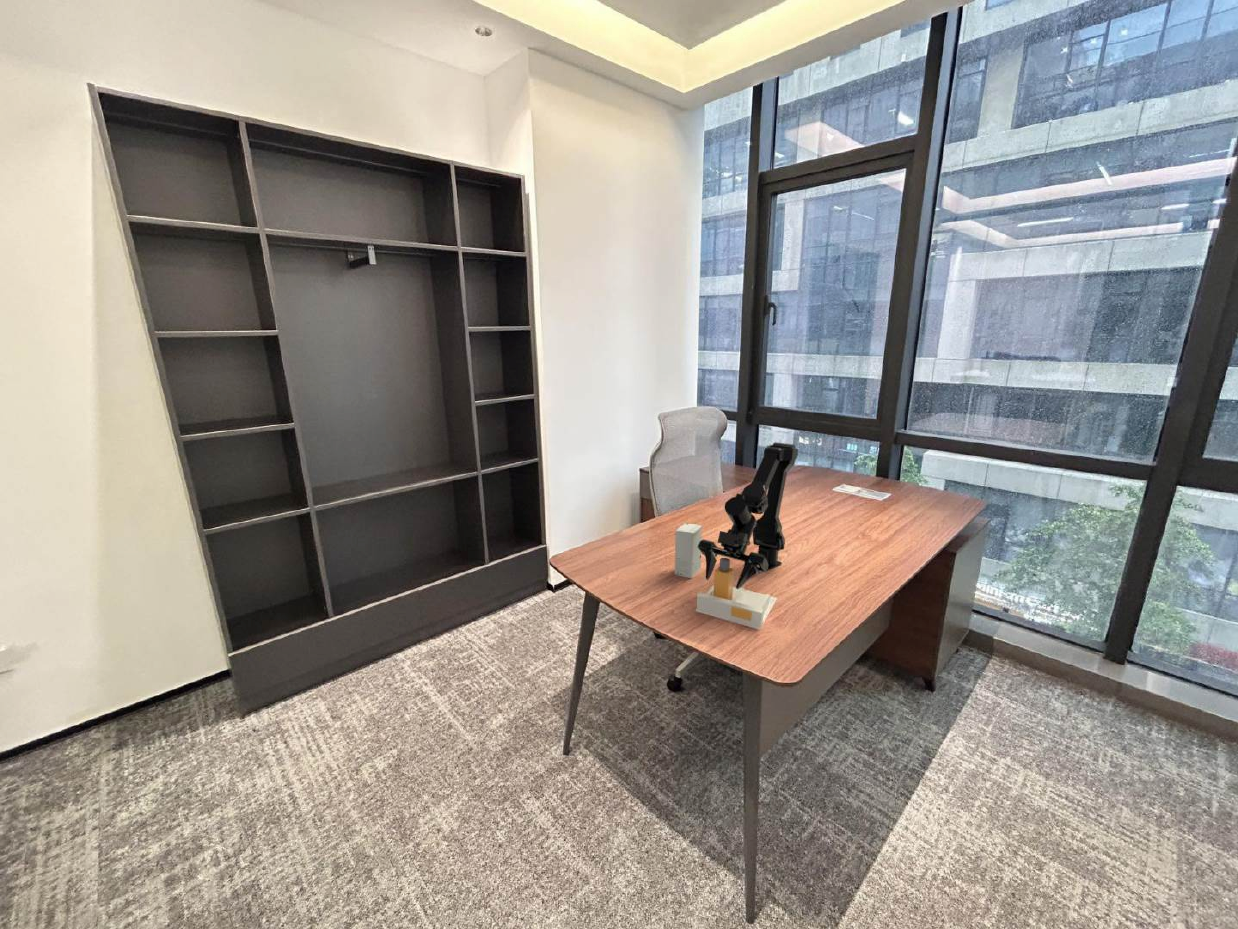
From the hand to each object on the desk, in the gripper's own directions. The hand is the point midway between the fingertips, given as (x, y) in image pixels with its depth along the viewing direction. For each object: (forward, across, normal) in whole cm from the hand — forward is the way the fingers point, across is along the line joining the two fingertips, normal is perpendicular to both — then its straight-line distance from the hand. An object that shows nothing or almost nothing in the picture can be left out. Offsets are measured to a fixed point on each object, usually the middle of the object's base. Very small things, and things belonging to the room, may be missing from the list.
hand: (721, 584), depth 132 cm
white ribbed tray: (+2, +3, +8) cm, 9 cm away
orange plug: (+4, 0, +6) cm, 7 cm away
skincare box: (-4, -18, +15) cm, 23 cm away
